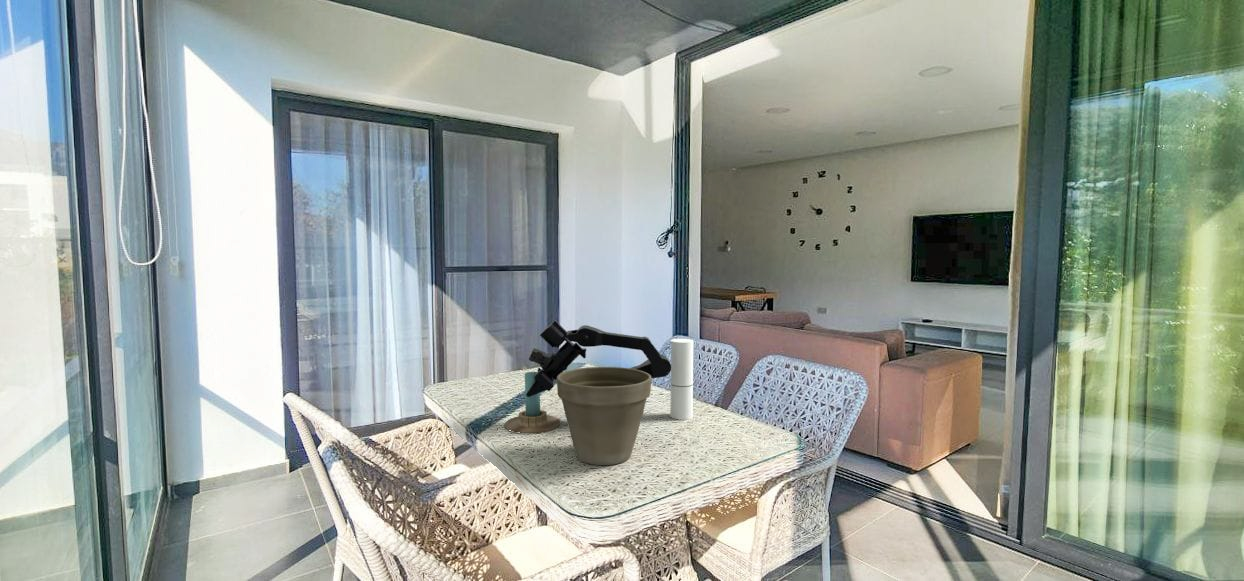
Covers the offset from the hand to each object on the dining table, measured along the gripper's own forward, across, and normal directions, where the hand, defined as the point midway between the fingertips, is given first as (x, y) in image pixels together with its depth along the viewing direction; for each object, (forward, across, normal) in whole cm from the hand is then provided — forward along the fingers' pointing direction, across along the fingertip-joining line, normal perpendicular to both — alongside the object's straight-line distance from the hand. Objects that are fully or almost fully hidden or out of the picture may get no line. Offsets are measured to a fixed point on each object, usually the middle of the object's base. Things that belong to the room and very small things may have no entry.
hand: (528, 393), depth 175 cm
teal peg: (+4, 0, +6) cm, 7 cm away
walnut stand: (+6, 0, +8) cm, 10 cm away
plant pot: (-9, +26, +24) cm, 36 cm away
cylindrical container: (-27, -7, +42) cm, 50 cm away
